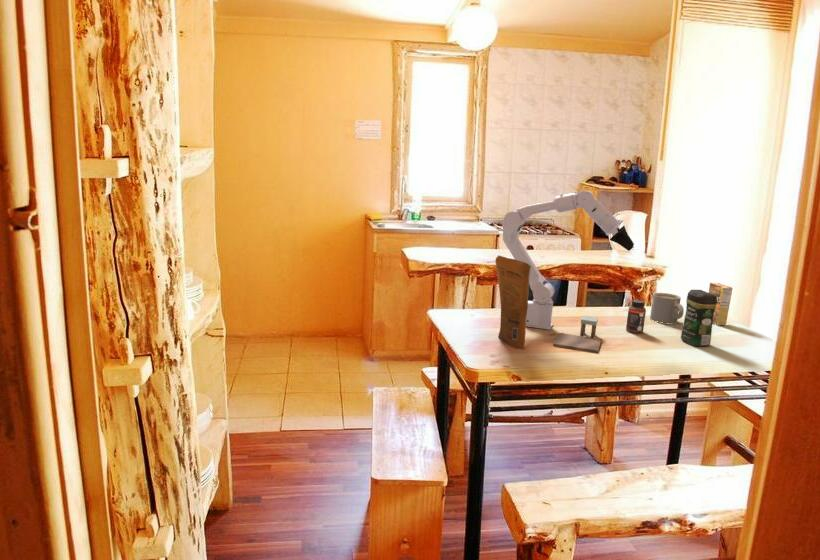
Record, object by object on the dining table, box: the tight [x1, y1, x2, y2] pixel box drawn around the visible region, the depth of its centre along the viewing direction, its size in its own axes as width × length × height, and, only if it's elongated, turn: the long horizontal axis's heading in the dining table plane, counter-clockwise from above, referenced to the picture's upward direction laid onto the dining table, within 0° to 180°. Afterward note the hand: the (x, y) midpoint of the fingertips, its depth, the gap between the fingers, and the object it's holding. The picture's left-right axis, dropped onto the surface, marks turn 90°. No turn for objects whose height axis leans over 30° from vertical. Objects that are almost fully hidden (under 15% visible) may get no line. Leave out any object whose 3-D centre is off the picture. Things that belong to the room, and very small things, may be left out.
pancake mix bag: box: [495, 255, 531, 350], centre depth 199 cm, size 7×19×28 cm, turn 19°
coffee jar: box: [680, 289, 717, 348], centre depth 210 cm, size 10×8×19 cm
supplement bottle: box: [625, 299, 647, 334], centre depth 222 cm, size 6×6×11 cm
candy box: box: [707, 282, 733, 326], centre depth 240 cm, size 9×4×15 cm, turn 8°
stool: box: [579, 316, 599, 338], centre depth 214 cm, size 5×5×6 cm
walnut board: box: [553, 332, 603, 354], centre depth 204 cm, size 14×14×1 cm
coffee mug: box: [649, 292, 685, 324], centre depth 238 cm, size 13×10×10 cm
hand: (631, 247), depth 207 cm, fingers open, 7 cm apart
